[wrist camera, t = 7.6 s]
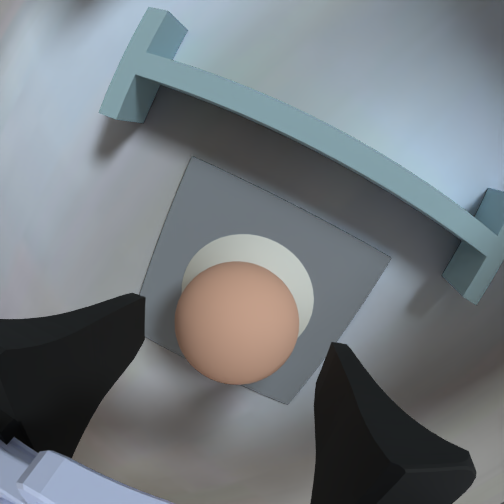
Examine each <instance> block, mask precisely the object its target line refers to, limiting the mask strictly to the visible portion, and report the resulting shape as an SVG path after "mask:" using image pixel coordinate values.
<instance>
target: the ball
mask: <svg viewBox="0 0 504 504" xmlns="http://www.w3.org/2000/svg"><path fill="white" fill-rule="evenodd" d="M174 320H175V334H176V338H177V341H178V344H179V347H180V349H181V351H182V353H183V355H184V356H185V358H186V359H187V361H188V362H189V363H190V364H191V365H192V366H193V367H194V368H195V369H196V370H197V371H199V372H200V373H201V374H203V375H205V376H206V377H208V378H210V379H212V380H215V381H217V382H221V383H225V384H233V385H242V384H250V383H254V382H257V381H260V380H262V379H264V378H266V377H268V376H270V375H272V374H273V373H274V372H276V371H277V370H278V369H279V368H280V367H281V366H282V365H283V364H284V363H285V362H286V361H287V359H288V358H289V356H290V355H291V353H292V351H293V349H294V347H295V344H296V341H297V338H298V333H299V314H298V309H297V305H296V302H295V300H294V298H293V295H292V294H291V292H290V290H289V289H288V287H287V286H286V285H285V283H284V282H283V281H282V280H281V279H280V278H279V277H278V276H276V275H275V274H274V273H272V272H271V271H269V270H268V269H266V268H264V267H262V266H259V265H256V264H253V263H249V262H241V261H232V262H224V263H220V264H217V265H214V266H212V267H209V268H207V269H206V270H204V271H202V272H201V273H199V274H198V275H197V276H196V277H194V278H193V280H192V281H191V282H190V283H189V284H188V285H187V286H186V288H185V289H184V291H183V292H182V294H181V296H180V299H179V301H178V304H177V307H176V311H175V319H174Z"/></svg>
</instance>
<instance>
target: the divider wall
mask: <svg viewBox="0 0 504 504" xmlns="http://www.w3.org/2000/svg"><path fill="white" fill-rule="evenodd" d="M187 31H188V30H187V29H186V28H185V27H184V26H183V25H182V24H181V23H180V22H179V21H178V20H177V19H176V18H175V17H174V16H173V15H172V14H171V13H170V12H169V11H166V10H161V9H156V8H151V7H148V9H147V11H146V12H145V14H144V16H143V18H142V20H141V21H140V23H139V25H138V27H137V29H136V31H135V33H134V35H133V36H132V38H131V40H130V42H129V44H128V46H127V48H126V50H125V52H124V55H123V57H122V59H121V61H120V63H119V65H118V67H117V70H116V72H115V74H114V76H113V79H112V81H111V83H110V85H109V88H108V90H107V93H106V95H105V98H104V100H103V103H102V105H101V108H100V110H99V113H100V114H103V115H105V116H108V117H111V118H113V119H116V120H123V121H130V122H138V123H144V121H145V118H146V116H147V114H148V111H149V109H150V107H151V104H152V102H153V100H154V98H155V95H156V93H157V91H158V89H159V87H160V85H162V86H165V87H168V88H171V89H174V90H176V91H179V92H182V93H185V94H187V95H190V96H193V97H195V98H198V99H200V100H203V101H206V102H208V103H211V104H213V105H216V106H218V107H221V108H223V109H225V110H228V111H230V112H233V113H235V114H237V115H240V116H242V117H244V118H247V119H249V120H251V121H253V122H256V123H258V124H260V125H262V126H264V127H267V128H269V129H271V130H273V131H275V132H277V133H280V134H282V135H284V136H286V137H288V138H290V139H292V140H294V141H296V142H298V143H300V144H302V145H304V146H306V147H308V148H310V149H312V150H314V151H316V152H318V153H320V154H322V155H324V156H326V157H327V158H329V159H331V160H333V161H335V162H337V163H339V164H341V165H342V166H344V167H346V168H348V169H350V170H351V171H353V172H355V173H357V174H359V175H360V176H362V177H364V178H366V179H367V180H369V181H371V182H372V183H374V184H376V185H377V186H379V187H381V188H383V189H384V190H386V191H388V192H389V193H391V194H392V195H394V196H396V197H397V198H399V199H401V200H402V201H404V202H405V203H407V204H408V205H410V206H412V207H413V208H415V209H416V210H418V211H419V212H421V213H422V214H424V215H425V216H427V217H428V218H430V219H431V220H433V221H434V222H436V223H437V224H439V225H440V226H442V227H443V228H445V229H446V230H448V231H449V232H450V233H452V234H453V235H455V236H456V237H457V238H459V239H460V240H462V242H461V243H460V245H459V247H458V249H457V250H456V252H455V254H454V256H453V257H452V259H451V261H450V263H449V264H448V266H447V268H446V269H445V271H444V273H443V274H442V276H443V277H444V278H445V279H446V280H447V281H448V282H449V283H450V284H451V285H452V286H453V287H454V288H455V289H456V290H457V291H458V292H459V293H460V294H461V295H462V296H463V297H464V298H466V299H467V300H469V301H470V302H472V303H473V304H475V305H477V304H478V302H479V301H480V299H481V297H482V296H483V294H484V293H485V291H486V289H487V288H488V286H489V284H490V283H491V281H492V279H493V278H494V276H495V274H496V273H497V271H498V269H499V267H500V265H501V264H502V262H503V260H504V192H502V191H499V190H495V189H491V188H488V190H487V192H486V194H485V196H484V199H483V201H482V203H481V205H480V207H479V209H478V211H477V213H476V215H475V217H473V216H472V215H471V214H470V213H468V212H467V211H466V210H464V209H463V208H462V207H460V206H459V205H458V204H456V203H455V202H454V201H452V200H451V199H450V198H448V197H447V196H445V195H444V194H443V193H441V192H440V191H438V190H437V189H435V188H434V187H433V186H431V185H430V184H428V183H427V182H425V181H424V180H422V179H421V178H419V177H418V176H416V175H415V174H413V173H412V172H410V171H409V170H407V169H406V168H404V167H402V166H401V165H399V164H398V163H396V162H394V161H393V160H391V159H390V158H388V157H386V156H385V155H383V154H381V153H380V152H378V151H376V150H375V149H373V148H371V147H369V146H368V145H366V144H364V143H362V142H361V141H359V140H357V139H355V138H354V137H352V136H350V135H348V134H346V133H344V132H343V131H341V130H339V129H337V128H335V127H333V126H331V125H329V124H327V123H325V122H323V121H321V120H319V119H317V118H315V117H313V116H311V115H309V114H307V113H305V112H303V111H301V110H299V109H297V108H295V107H293V106H291V105H288V104H286V103H284V102H282V101H280V100H277V99H275V98H273V97H271V96H268V95H266V94H264V93H261V92H259V91H256V90H254V89H252V88H249V87H247V86H244V85H242V84H239V83H237V82H234V81H232V80H229V79H226V78H224V77H221V76H218V75H216V74H213V73H210V72H207V71H204V70H201V69H199V68H196V67H193V66H190V65H187V64H183V63H180V62H177V61H174V60H173V58H174V56H175V54H176V52H177V50H178V48H179V46H180V44H181V42H182V40H183V39H184V37H185V35H186V33H187Z"/></svg>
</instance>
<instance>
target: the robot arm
mask: <svg viewBox="0 0 504 504" xmlns="http://www.w3.org/2000/svg"><path fill="white" fill-rule="evenodd" d="M145 301H146V297H144V296H141V295H137V294H134V293H130V294H125V295H122V296H119V297H116V298H113V299H110V300H107V301H104V302H101V303H98V304H95V305H92V306H89V307H85V308H82V309H78V310H75V311H71V312H67V313H63V314H58V315H53V316H47V317H39V318H29V319H0V504H175V503H173V502H170V501H168V500H165V499H162V498H159V497H156V496H154V495H151V494H148V493H145V492H143V491H140V490H138V489H135V488H133V487H130V486H128V485H125V484H123V483H120V482H118V481H116V480H114V479H111V478H109V477H107V476H105V475H103V474H100V473H98V472H96V471H94V470H92V469H90V468H88V467H86V466H84V465H82V464H80V463H78V462H76V461H75V460H73V459H71V458H72V456H73V454H74V452H75V449H76V447H77V445H78V443H79V441H80V439H81V437H82V435H83V433H84V431H85V429H86V427H87V425H88V423H89V421H90V419H91V418H92V416H93V414H94V412H95V411H96V409H97V407H98V406H99V404H100V402H101V401H102V399H103V398H104V396H105V395H106V394H107V392H108V391H109V390H110V389H111V387H112V386H113V385H114V383H115V382H116V381H117V380H118V378H119V377H120V376H121V375H122V373H123V372H124V371H125V370H126V368H127V367H128V366H129V364H130V363H131V362H132V361H133V359H134V358H135V356H136V354H137V353H138V351H139V349H140V347H141V346H142V344H143V342H144V340H145ZM314 416H315V439H316V464H315V474H314V483H313V490H312V497H311V504H452V503H453V502H455V501H456V500H457V499H458V498H459V497H460V496H461V495H462V494H463V493H465V492H466V491H467V489H468V488H469V487H470V486H471V485H472V483H473V481H474V480H475V478H476V470H475V467H474V464H473V462H472V459H471V456H470V454H469V451H467V450H465V449H463V448H460V447H458V446H456V445H454V444H452V443H450V442H448V441H446V440H444V439H442V438H441V437H439V436H437V435H436V434H434V433H432V432H431V431H429V430H428V429H426V428H425V427H423V426H422V425H420V424H419V423H418V422H416V421H415V420H414V419H413V418H411V417H410V416H409V415H408V414H406V413H405V412H404V411H403V410H402V409H401V408H400V407H399V406H397V405H396V404H395V403H394V402H393V401H392V400H391V399H390V398H389V397H388V396H387V395H386V394H385V392H384V391H383V390H382V389H381V388H380V387H379V386H378V384H377V383H376V382H375V381H374V380H373V378H372V377H371V376H370V375H369V373H368V372H367V371H366V369H365V368H364V367H363V365H362V364H361V363H360V361H359V360H358V358H357V357H356V356H355V354H354V353H353V352H352V350H351V349H350V348H349V346H348V345H347V344H341V343H336V342H331V345H330V347H329V350H328V353H327V356H326V358H325V361H324V364H323V366H322V369H321V371H320V374H319V376H318V379H317V382H316V388H315V399H314Z"/></svg>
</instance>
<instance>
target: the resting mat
mask: <svg viewBox="0 0 504 504" xmlns="http://www.w3.org/2000/svg"><path fill="white" fill-rule="evenodd" d="M390 260H391V257H390V256H388V255H386V254H384V253H383V252H381V251H379V250H377V249H376V248H374V247H372V246H370V245H368V244H367V243H365V242H363V241H361V240H359V239H358V238H356V237H354V236H352V235H350V234H348V233H347V232H345V231H343V230H341V229H339V228H337V227H336V226H334V225H332V224H330V223H328V222H326V221H324V220H322V219H320V218H319V217H317V216H315V215H313V214H311V213H309V212H307V211H305V210H303V209H301V208H299V207H297V206H295V205H294V204H292V203H290V202H288V201H286V200H284V199H282V198H280V197H278V196H276V195H274V194H272V193H270V192H268V191H266V190H264V189H262V188H260V187H257V186H255V185H253V184H251V183H249V182H247V181H245V180H243V179H241V178H239V177H237V176H235V175H233V174H230V173H228V172H226V171H224V170H222V169H220V168H218V167H215V166H213V165H211V164H209V163H207V162H205V161H202V160H200V159H198V158H196V157H194V156H192V157H191V160H190V162H189V164H188V167H187V169H186V171H185V174H184V176H183V179H182V181H181V183H180V186H179V188H178V191H177V193H176V196H175V198H174V201H173V203H172V206H171V208H170V211H169V214H168V216H167V219H166V221H165V224H164V227H163V229H162V232H161V235H160V237H159V240H158V243H157V246H156V248H155V251H154V254H153V257H152V260H151V262H150V265H149V268H148V271H147V274H146V277H145V280H144V283H143V286H142V289H141V292H140V295H141V296H144V297H146V301H145V337H146V338H148V339H150V340H152V341H153V342H155V343H157V344H159V345H161V346H162V347H164V348H166V349H168V350H170V351H172V352H174V353H176V354H178V355H179V356H181V357H183V358H185V356H184V355H183V353H182V351H181V349H180V347H179V344H178V341H177V338H176V334H175V320H174V319H175V311H176V307H177V304H178V301H179V299H180V296H181V294H182V292H183V291H184V289H185V288H186V286H187V285H188V284H189V283H190V282H191V281H192V280H193V278H194V277H196V276H197V275H198V274H199V273H201V272H202V271H204V270H206V269H207V268H209V267H212V266H214V265H217V264H220V263H224V262H232V261H241V262H249V263H253V264H256V265H259V266H262V267H264V268H266V269H268V270H269V271H271V272H272V273H274V274H275V275H276V276H278V277H279V278H280V279H281V280H282V281H283V282H284V283H285V285H286V286H287V287H288V289H289V290H290V292H291V294H292V295H293V298H294V300H295V302H296V305H297V309H298V314H299V333H298V338H297V341H296V344H295V347H294V349H293V351H292V353H291V355H290V356H289V358H288V359H287V361H286V362H285V363H284V364H283V365H282V366H281V367H280V368H279V369H278V370H277V371H276V372H274V373H273V374H272V375H270V376H268V377H266V378H264V379H262V380H260V381H257V382H254V383H250V384H242V386H244V387H246V388H248V389H251V390H253V391H255V392H258V393H260V394H262V395H265V396H267V397H269V398H272V399H274V400H277V401H279V402H282V403H284V404H287V405H288V404H289V403H290V402H291V401H292V399H293V398H294V397H295V396H296V395H297V393H298V392H299V391H300V390H301V388H302V387H303V386H304V385H305V383H306V382H307V381H308V379H309V378H310V377H311V376H312V374H313V373H314V372H315V370H316V369H317V368H318V366H319V365H320V364H321V362H322V361H323V360H324V358H325V357H326V356H327V353H328V350H329V347H330V345H331V342H337V341H338V339H339V338H340V336H341V335H342V334H343V332H344V331H345V329H346V328H347V326H348V325H349V324H350V322H351V321H352V319H353V318H354V316H355V315H356V313H357V312H358V310H359V309H360V307H361V306H362V304H363V303H364V301H365V300H366V298H367V297H368V295H369V294H370V292H371V291H372V289H373V287H374V286H375V284H376V283H377V281H378V280H379V278H380V276H381V275H382V273H383V271H384V270H385V268H386V267H387V265H388V263H389V262H390ZM185 359H186V358H185Z"/></svg>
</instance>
